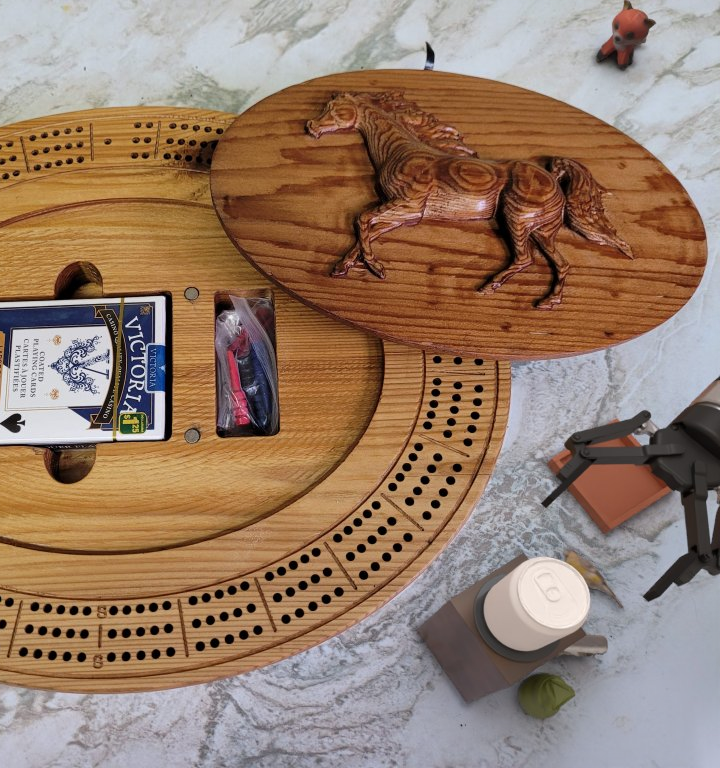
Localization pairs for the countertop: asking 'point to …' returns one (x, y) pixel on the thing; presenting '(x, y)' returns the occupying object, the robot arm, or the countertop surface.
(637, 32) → the stuffed fox
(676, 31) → the countertop surface
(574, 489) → the tray
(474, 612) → the coaster
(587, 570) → the decorative sculpture
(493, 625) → the beverage can
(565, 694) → the green pointed bulb
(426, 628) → the stand
